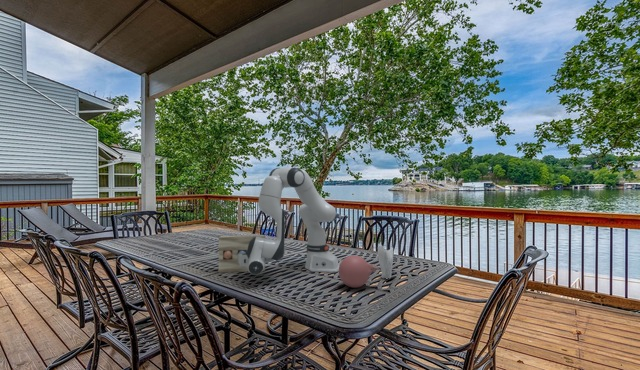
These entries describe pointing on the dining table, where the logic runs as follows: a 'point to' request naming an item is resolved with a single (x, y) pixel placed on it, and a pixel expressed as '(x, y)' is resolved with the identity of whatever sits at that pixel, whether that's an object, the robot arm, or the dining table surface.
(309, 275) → the dining table surface
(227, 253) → the terracotta button
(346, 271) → the pink bulb with spout
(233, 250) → the button panel
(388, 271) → the shell sculpture
